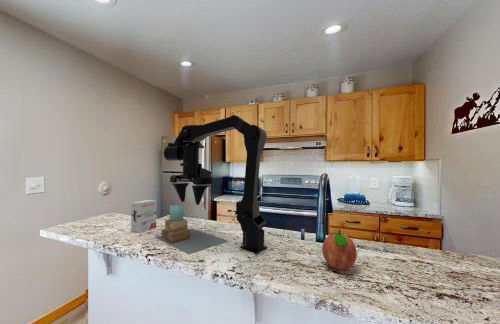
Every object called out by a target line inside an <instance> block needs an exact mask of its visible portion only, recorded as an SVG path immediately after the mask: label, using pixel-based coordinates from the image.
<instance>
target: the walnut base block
mask: <svg viewBox="0 0 500 324" xmlns="http://www.w3.org/2000/svg"><path fill="white" fill-rule="evenodd" d="M190 229H191V228H188V227H187V230H183V231H178V232H174V233H172V232H170V231H168V230H165V228H161V235H162V239H163V240H165V241H167V242H169V243H171V244H173V243H176V242H180V241H184V240H187V239H190Z"/></svg>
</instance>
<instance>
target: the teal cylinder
mask: <svg viewBox="0 0 500 324" xmlns="http://www.w3.org/2000/svg"><path fill="white" fill-rule="evenodd" d="M184 207H185V206H184V205H183V204H173V205H172V204H171V205H169V219H170V221H172V222H178V221H182V220H183V219H184V209H185V208H184Z"/></svg>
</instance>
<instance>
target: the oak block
mask: <svg viewBox="0 0 500 324" xmlns="http://www.w3.org/2000/svg"><path fill="white" fill-rule="evenodd" d="M187 228H188V219H187V218H186V219H185V218H183V220H182V221H178V222H172V221H170V218H169V219H165V220H164V229H165V230H168V231H170V232H172V233H174V232H178V231H183V230H187Z"/></svg>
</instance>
